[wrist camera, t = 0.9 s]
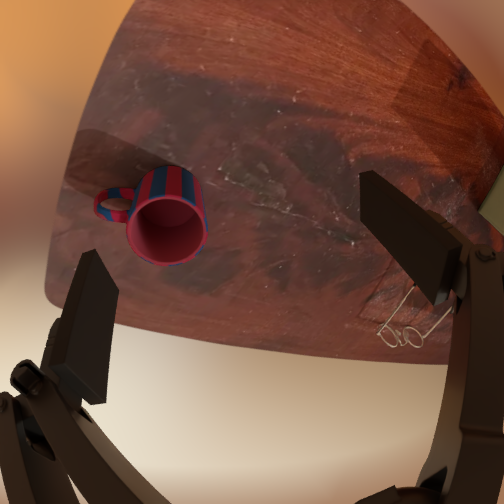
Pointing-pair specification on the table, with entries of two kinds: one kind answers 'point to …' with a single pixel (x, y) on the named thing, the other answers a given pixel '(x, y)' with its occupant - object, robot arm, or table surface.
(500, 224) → the bin
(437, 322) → the eyeglasses
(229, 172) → the table surface
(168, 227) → the mug
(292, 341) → the table surface
